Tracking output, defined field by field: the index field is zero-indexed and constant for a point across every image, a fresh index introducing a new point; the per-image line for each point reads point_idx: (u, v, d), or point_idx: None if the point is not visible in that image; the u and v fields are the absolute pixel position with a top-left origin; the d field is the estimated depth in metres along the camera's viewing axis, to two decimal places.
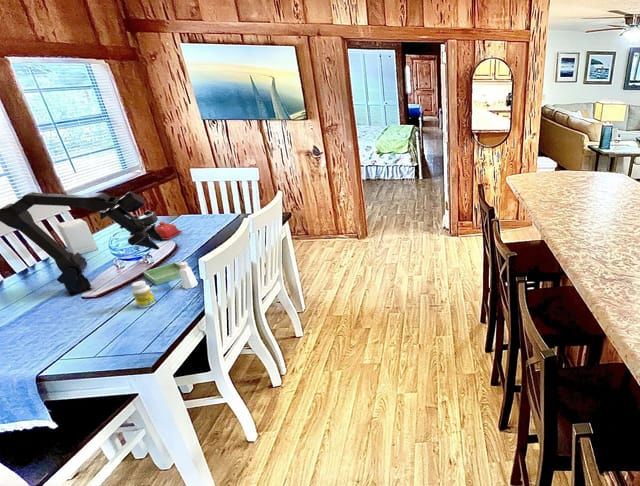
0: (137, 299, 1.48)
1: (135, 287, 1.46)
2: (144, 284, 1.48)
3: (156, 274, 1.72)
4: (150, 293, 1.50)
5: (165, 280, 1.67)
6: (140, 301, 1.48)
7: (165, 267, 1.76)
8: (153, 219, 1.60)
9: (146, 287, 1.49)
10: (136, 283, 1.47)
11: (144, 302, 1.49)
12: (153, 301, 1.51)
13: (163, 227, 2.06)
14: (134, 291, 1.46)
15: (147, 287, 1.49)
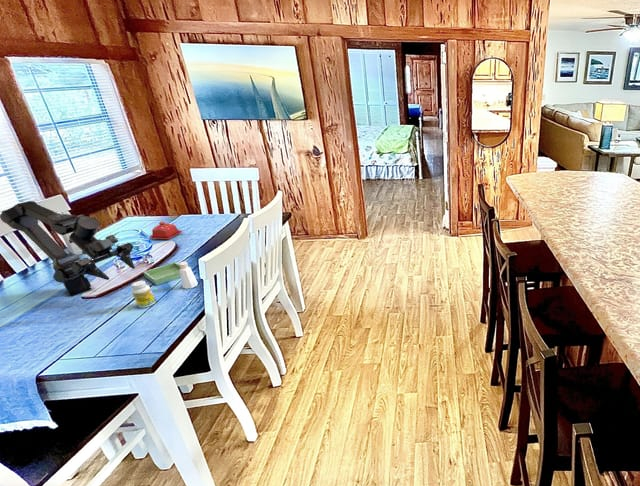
0: (137, 299, 1.48)
1: (135, 287, 1.46)
2: (144, 284, 1.48)
3: (156, 274, 1.72)
4: (150, 293, 1.50)
5: (165, 280, 1.67)
6: (140, 301, 1.48)
7: (165, 267, 1.76)
8: (100, 246, 1.41)
9: (146, 287, 1.49)
10: (136, 283, 1.47)
11: (144, 302, 1.49)
12: (153, 301, 1.51)
13: (163, 227, 2.06)
14: (134, 291, 1.46)
15: (147, 287, 1.49)
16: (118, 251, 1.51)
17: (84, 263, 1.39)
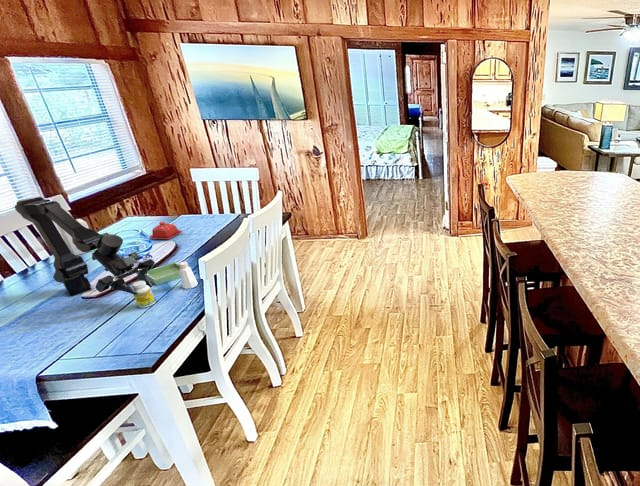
0: (137, 299, 1.48)
1: (135, 287, 1.46)
2: (145, 284, 1.48)
3: (156, 274, 1.72)
4: (150, 293, 1.50)
5: (165, 280, 1.67)
6: (140, 301, 1.48)
7: (165, 267, 1.76)
8: (123, 264, 1.42)
9: (146, 287, 1.49)
10: (136, 283, 1.47)
11: (144, 302, 1.49)
12: (153, 301, 1.51)
13: (163, 227, 2.06)
14: None
15: (147, 287, 1.49)
16: (135, 270, 1.50)
17: (108, 281, 1.39)
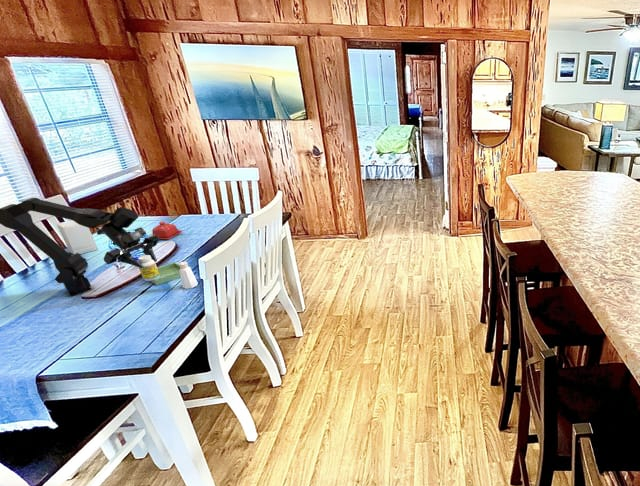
0: (143, 272, 1.55)
1: (141, 261, 1.53)
2: (150, 258, 1.56)
3: None
4: (155, 267, 1.57)
5: (165, 280, 1.67)
6: (146, 274, 1.55)
7: (165, 267, 1.76)
8: (130, 238, 1.49)
9: (151, 261, 1.56)
10: (142, 257, 1.55)
11: (149, 275, 1.56)
12: (158, 275, 1.59)
13: (163, 227, 2.06)
14: None
15: (152, 261, 1.56)
16: (141, 244, 1.57)
17: (115, 253, 1.47)
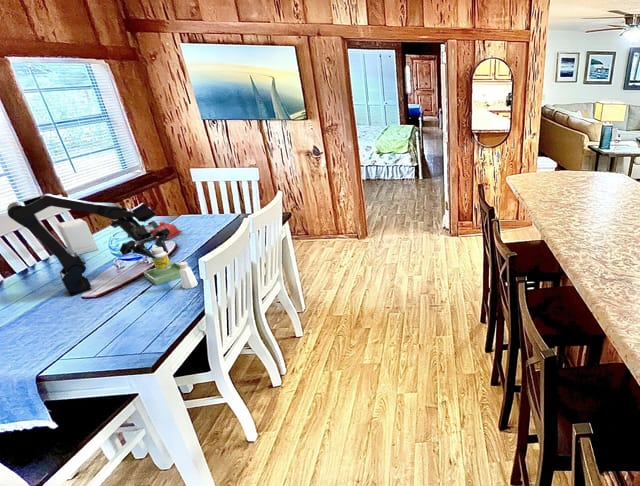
0: (155, 263, 1.66)
1: (154, 252, 1.65)
2: (162, 250, 1.67)
3: (156, 274, 1.72)
4: (167, 258, 1.69)
5: (165, 280, 1.67)
6: (158, 264, 1.67)
7: None
8: (144, 230, 1.61)
9: (163, 252, 1.68)
10: (155, 248, 1.66)
11: (162, 265, 1.68)
12: (169, 265, 1.70)
13: (163, 227, 2.06)
14: None
15: (164, 252, 1.68)
16: (154, 237, 1.69)
17: (131, 245, 1.58)
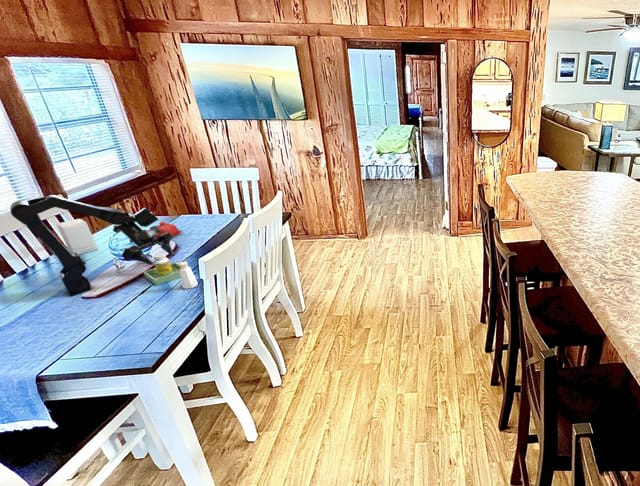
0: (158, 269, 1.68)
1: (156, 258, 1.66)
2: (164, 256, 1.68)
3: (156, 274, 1.72)
4: (169, 264, 1.70)
5: (165, 280, 1.67)
6: (161, 271, 1.68)
7: None
8: (146, 235, 1.62)
9: (166, 259, 1.69)
10: (157, 255, 1.68)
11: (164, 272, 1.69)
12: (171, 272, 1.72)
13: (163, 227, 2.06)
14: (155, 262, 1.67)
15: (166, 259, 1.69)
16: (159, 240, 1.71)
17: (133, 250, 1.59)
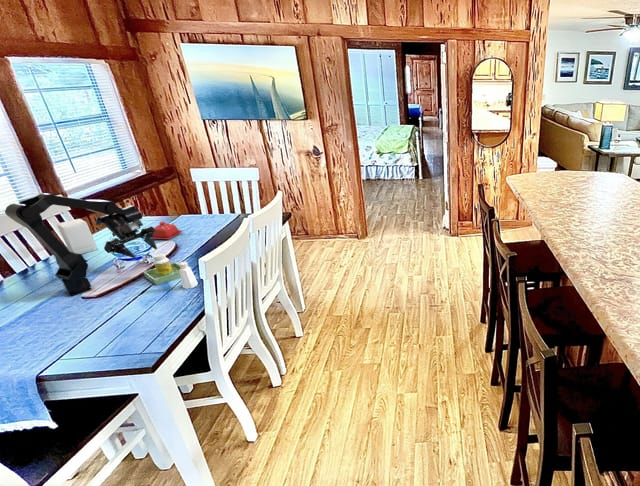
0: (158, 269, 1.68)
1: (156, 258, 1.66)
2: (164, 256, 1.68)
3: (156, 274, 1.72)
4: (169, 264, 1.70)
5: (165, 280, 1.67)
6: (161, 271, 1.68)
7: None
8: (128, 228, 1.63)
9: (166, 259, 1.69)
10: (157, 255, 1.68)
11: (164, 272, 1.69)
12: (171, 272, 1.72)
13: (163, 227, 2.06)
14: (155, 262, 1.67)
15: (166, 259, 1.69)
16: (142, 234, 1.73)
17: (115, 243, 1.60)
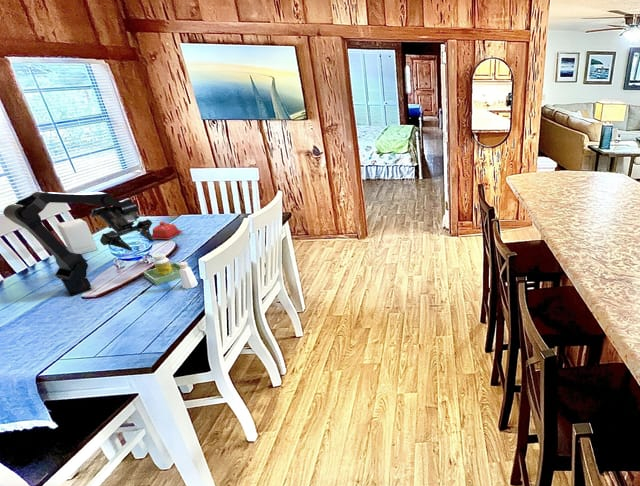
0: (158, 269, 1.68)
1: (156, 258, 1.66)
2: (164, 256, 1.68)
3: (156, 274, 1.72)
4: (169, 264, 1.70)
5: (165, 280, 1.67)
6: (161, 271, 1.68)
7: None
8: (124, 221, 1.62)
9: (166, 259, 1.69)
10: (157, 255, 1.68)
11: (164, 272, 1.69)
12: (171, 272, 1.72)
13: (163, 227, 2.06)
14: (155, 262, 1.67)
15: (166, 259, 1.69)
16: (139, 226, 1.71)
17: (111, 235, 1.59)
